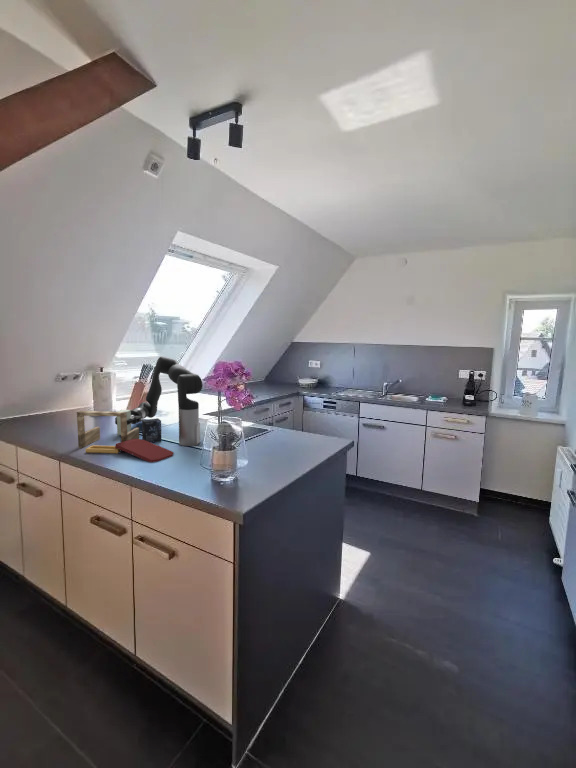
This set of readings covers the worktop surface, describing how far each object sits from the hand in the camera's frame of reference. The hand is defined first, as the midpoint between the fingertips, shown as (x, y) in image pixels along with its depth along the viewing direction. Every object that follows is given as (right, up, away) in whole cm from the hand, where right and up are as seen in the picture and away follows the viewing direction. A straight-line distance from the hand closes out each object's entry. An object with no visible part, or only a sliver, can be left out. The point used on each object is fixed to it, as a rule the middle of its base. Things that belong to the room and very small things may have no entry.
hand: (121, 422), depth 186 cm
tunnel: (0, -9, -11) cm, 14 cm away
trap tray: (+3, -10, -23) cm, 26 cm away
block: (0, -6, +3) cm, 7 cm away
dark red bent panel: (+21, -12, -25) cm, 35 cm away
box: (+17, -9, -6) cm, 20 cm away
